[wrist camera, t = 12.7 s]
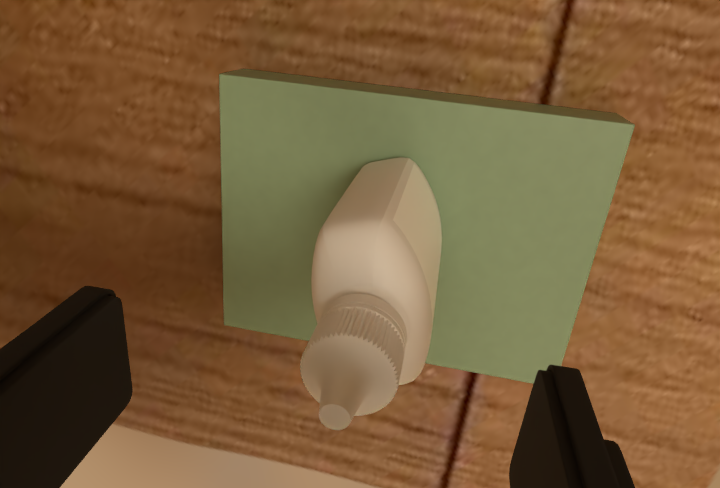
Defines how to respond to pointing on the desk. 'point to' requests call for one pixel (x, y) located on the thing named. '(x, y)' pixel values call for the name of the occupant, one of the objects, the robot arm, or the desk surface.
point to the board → (453, 197)
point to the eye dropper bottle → (373, 291)
